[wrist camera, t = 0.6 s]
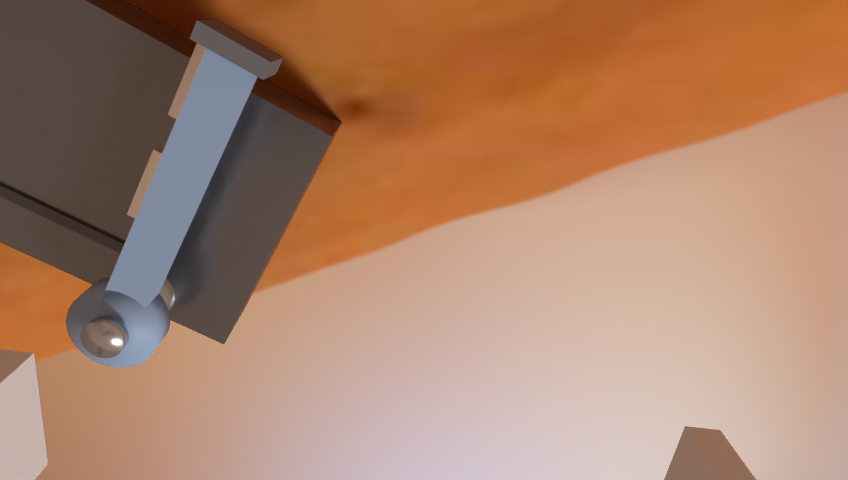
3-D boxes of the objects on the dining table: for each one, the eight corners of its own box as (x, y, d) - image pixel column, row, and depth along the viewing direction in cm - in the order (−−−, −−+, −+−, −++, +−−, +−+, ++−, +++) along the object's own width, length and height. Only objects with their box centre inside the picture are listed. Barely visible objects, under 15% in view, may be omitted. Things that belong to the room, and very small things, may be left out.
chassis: (-44, 183, 34) (-196, 240, 25) (30, -75, 29) (-128, -110, 20) (240, 316, 37) (188, 405, 29) (349, 107, 32) (326, 140, 24)
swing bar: (155, 358, 31) (135, 385, 29) (77, 323, 30) (50, 348, 28) (295, 64, 26) (284, 70, 23) (203, 11, 25) (182, 12, 23)
